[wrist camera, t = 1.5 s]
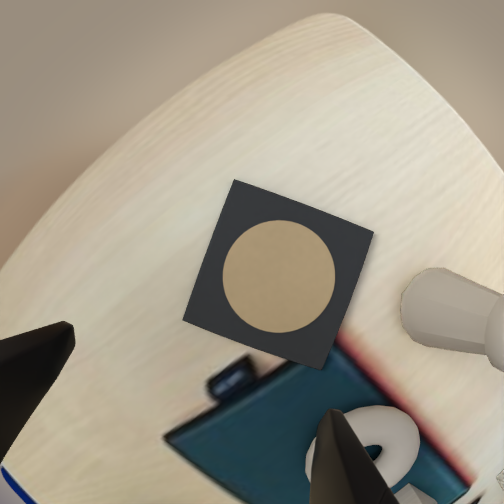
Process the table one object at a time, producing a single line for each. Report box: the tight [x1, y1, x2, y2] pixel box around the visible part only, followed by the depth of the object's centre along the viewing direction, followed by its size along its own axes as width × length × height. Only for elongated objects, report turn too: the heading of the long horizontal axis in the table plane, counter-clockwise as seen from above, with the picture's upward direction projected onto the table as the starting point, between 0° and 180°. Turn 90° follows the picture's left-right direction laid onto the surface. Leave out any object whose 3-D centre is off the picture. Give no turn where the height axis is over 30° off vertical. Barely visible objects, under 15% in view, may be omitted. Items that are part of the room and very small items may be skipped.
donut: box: [305, 405, 420, 488], centre depth 20 cm, size 10×4×10 cm
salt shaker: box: [400, 268, 504, 372], centre depth 15 cm, size 6×6×13 cm
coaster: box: [183, 179, 374, 370], centre depth 22 cm, size 11×11×1 cm
